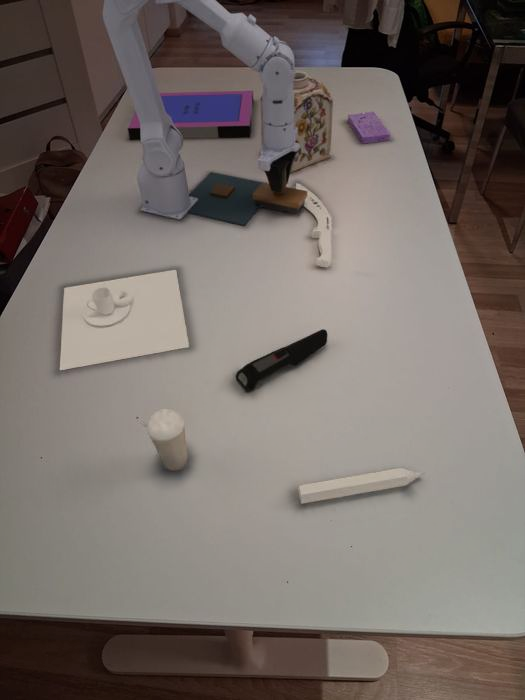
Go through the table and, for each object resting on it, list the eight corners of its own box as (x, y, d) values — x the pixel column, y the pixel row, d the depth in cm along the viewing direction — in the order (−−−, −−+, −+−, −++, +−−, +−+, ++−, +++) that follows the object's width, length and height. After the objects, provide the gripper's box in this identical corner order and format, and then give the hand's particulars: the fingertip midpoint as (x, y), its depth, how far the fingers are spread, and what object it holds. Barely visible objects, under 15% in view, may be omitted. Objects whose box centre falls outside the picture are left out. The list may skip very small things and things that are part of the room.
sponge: (373, 118, 137) (374, 111, 136) (389, 140, 129) (390, 133, 127) (346, 121, 137) (347, 114, 135) (361, 144, 128) (362, 136, 127)
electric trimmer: (332, 351, 83) (333, 336, 81) (247, 394, 78) (246, 380, 75) (317, 336, 86) (318, 322, 83) (234, 378, 80) (232, 364, 78)
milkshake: (152, 447, 72) (137, 402, 65) (192, 444, 72) (182, 398, 65) (150, 477, 69) (134, 433, 62) (192, 473, 69) (181, 429, 62)
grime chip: (210, 195, 114) (209, 192, 114) (218, 186, 117) (218, 183, 116) (226, 199, 113) (226, 195, 112) (235, 189, 115) (234, 186, 115)
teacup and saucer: (134, 291, 94) (129, 273, 91) (136, 322, 89) (131, 303, 86) (83, 300, 93) (76, 281, 90) (83, 331, 88) (75, 313, 85)
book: (249, 125, 130) (127, 128, 132) (250, 137, 133) (130, 140, 134) (253, 90, 145) (142, 93, 146) (253, 101, 147) (145, 104, 148)
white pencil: (423, 481, 68) (300, 502, 67) (419, 464, 69) (297, 485, 67) (430, 481, 66) (303, 503, 64) (426, 463, 66) (299, 485, 64)
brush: (252, 205, 111) (251, 171, 105) (262, 193, 114) (261, 159, 108) (298, 215, 108) (298, 180, 102) (307, 202, 111) (308, 168, 105)
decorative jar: (331, 158, 124) (336, 76, 111) (290, 174, 120) (291, 91, 107) (299, 139, 131) (301, 60, 118) (260, 154, 127) (257, 73, 113)
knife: (295, 179, 117) (331, 179, 116) (295, 186, 118) (331, 186, 117) (288, 260, 96) (332, 261, 95) (288, 268, 97) (331, 268, 96)
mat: (175, 210, 112) (174, 208, 111) (210, 173, 121) (210, 171, 121) (244, 226, 107) (244, 224, 106) (276, 186, 116) (276, 184, 116)
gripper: (283, 140, 92) (284, 209, 102) (312, 106, 101) (310, 173, 111) (246, 134, 94) (250, 202, 104) (278, 101, 103) (279, 167, 113)
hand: (279, 186), depth 108 cm, fingers closed on brush, 2 cm apart
